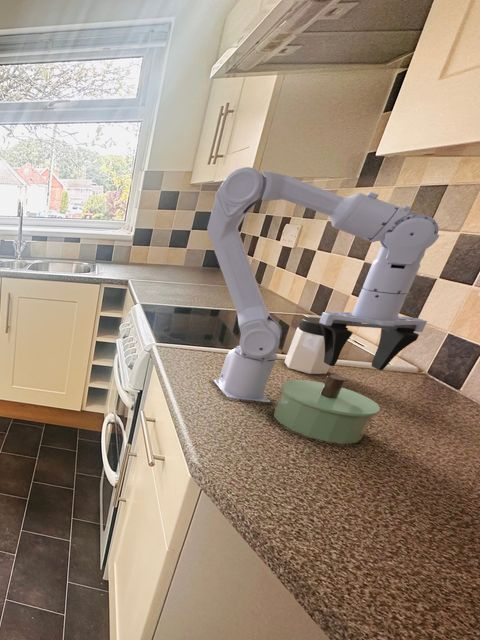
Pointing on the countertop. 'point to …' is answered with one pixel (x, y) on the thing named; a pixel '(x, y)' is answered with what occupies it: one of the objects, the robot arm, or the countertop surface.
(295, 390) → the lid
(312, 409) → the tin
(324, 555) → the countertop surface
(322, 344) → the jar
